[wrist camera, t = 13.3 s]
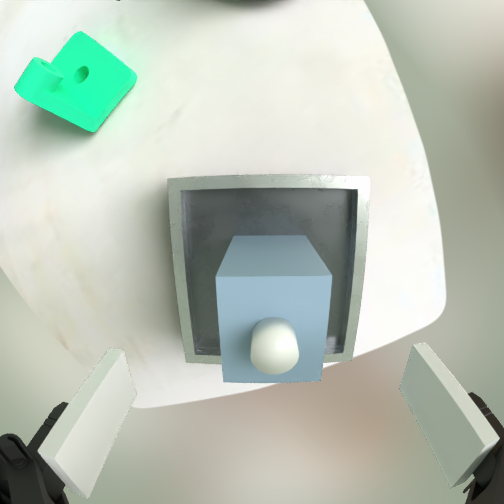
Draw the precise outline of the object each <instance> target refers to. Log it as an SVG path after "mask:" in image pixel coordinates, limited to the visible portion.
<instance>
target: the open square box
mask: <svg viewBox="0 0 504 504" xmlns="http://www.w3.org/2000/svg"><path fill="white" fill-rule="evenodd" d="M167 180H168V201H169V218H170V232H171V245H172V256H173V266H174V276H175V285H176V294H177V302H178V310H179V318H180V325H181V332H182V339H183V346H184V352H185V358H186V362H188V363H205V364H222V360H221V348H220V335H219V322H218V308H217V293H216V277H215V276H216V274H217V272H218V270H219V267H220V265H221V263H222V261H223V258H224V256H225V254H226V252H227V249H228V247H229V245H230V243H231V241H232V238H233V236H263V235H306V237H307V238H308V240H309V241H310V243H311V244H312V246H313V247H314V249H315V250H316V252H317V253H318V255H319V256H320V258H321V259H322V261H323V262H324V264H325V265H326V267H327V268H328V270H329V271H330V273H331V274H332V286H331V298H330V309H329V319H328V328H327V337H326V345H325V353H324V361H323V363H327V362H341V361H351V360H352V357H353V351H354V345H355V340H356V333H357V327H358V321H359V314H360V306H361V299H362V290H363V282H364V272H365V262H366V250H367V236H368V219H369V190H370V177H357V176H336V175H291V174H269V175H224V176H201V177H184V178H171V179H167Z"/></svg>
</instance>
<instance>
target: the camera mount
mask: <svg viewBox="0 0 504 504" xmlns="http://www.w3.org/2000/svg"><path fill="white" fill-rule="evenodd" d="M87 75H88V77H87ZM86 77H87V79H86ZM85 79H86V80H85ZM136 80H137V75H136V73H135V72H134V71H133V70H131V69H130V68H129V67H128V66H126V65H125V64H124V63H123V62H122V61H121V60H119V59H118V58H117V57H116V56H114V55H113V54H112V53H111V52H109V51H108V50H107V49H106V48H104V47H103V46H101V45H100V44H99V43H97V42H96V41H95V40H93V39H92V38H91V37H89V36H88V35H87V34H85V33H84V32H82V31H79V32H77V33H75V34H74V35H73V36H72V37H71V38H70V40H69V41H68V42H67V43H66V44H65V46H64V47H63V48H62V49H61V51H60V52H59V53H58V55H57V56H56V57H55V58H54V60H53V61H52V62H51V64H50V63H48V62H47V61H45V60H43V59H40V58H37V57H34V58H33V59H32V60H31V62H30V63H29V65H28V66H27V68H26V69H25V71H24V72H23V74H22V75H21V77H20V79H19V80H18V82H17V83H16V85H15V87H14V88H15V91H16V92H17V93H18V94H19V95H20V96H21V97H23V98H24V99H26V100H27V101H29V102H31V103H33V104H35V105H37V106H39V107H41V108H43V109H45V110H47V111H49V112H51V113H53V114H55V115H57V116H59V117H61V118H63V119H65V120H67V121H69V122H71V123H73V124H75V125H77V126H79V127H81V128H83V129H85V130H87V131H91V132H96V131H97V129H98V128H99V127H100V125H101V124H102V123H103V122H104V120H105V119H106V118H107V116H108V115H109V114H110V113H111V111H112V110H113V109H114V108H115V106H116V105H117V104H118V103H119V102H120V100H121V99H122V98H123V97H124V96H125V94H126V93H127V92H128V91H129V90H130V89H131V88H132V86H133V85H134V84H135V83H136Z"/></svg>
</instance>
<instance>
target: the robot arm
mask: <svg viewBox="0 0 504 504" xmlns="http://www.w3.org/2000/svg"><path fill="white" fill-rule="evenodd" d="M399 390H400V391H401V393H402V395H403V397H404V399H405V401H406V402H407V404H408V406H409V408H410V410H411V411H412V413H413V415H414V417H415V419H416V421H417V422H418V424H419V426H420V428H421V430H422V432H423V434H424V436H425V438H426V440H427V442H428V444H429V446H430V447H431V450H432V452H433V454H434V455H435V458H436V460H437V462H438V464H439V465H440V468H441V470H442V472H443V474H444V476H445V478H446V480H447V482H448V484H449V486H450V488H452V487H455V486H457V485H459V484H461V483H463V482H465V481H466V480H467V479H468V478H469V477H470V476H471V474H472V473H473V475H474V477H475V478H474V479H473V481H472V482H471V483H470V484H469V485H468V486H467V487H466V488H465V489H464V491H463V493H465V492H466V491H467V490H468V489H469V488H470V490H469V493H468V497H467V500H466V503H465V504H504V428H503V426H502V425H501V424H500V422H499V421H498V420H497V418H496V417H495V416H494V414H492V412H491V411H490V409H489V408H487V405H486V404H485V403H484V401H483V400H482V399H481V398H480V397H479V396H477V395H476V394H474V393H472V392H471V393H469V394H467V393H466V391H465V390H464V389H463V387H462V386H461V385H460V384H459V382H458V381H457V380H456V379H455V377H454V376H453V375H452V374H451V372H450V371H449V370H448V369H447V367H446V366H445V365H444V364H443V362H442V361H441V360H440V359H439V358H438V357H437V355H436V354H435V353H434V352H433V351H432V349H431V348H430V347H429V346H428V344H427V343H426V342H425V343H419V344H413V345H412V349H411V352H410V356H409V359H408V362H407V366H406V369H405V372H404V375H403V378H402V382H401V385H400V388H399ZM136 395H137V393H136V390H135V387H134V384H133V380H132V377H131V374H130V371H129V367H128V364H127V360H126V357H125V353H124V350H121V349H112V348H109V349H108V351H107V352H106V353H105V355H104V356H103V357H102V359H101V360H100V361H99V363H98V364H97V365H96V367H95V368H94V370H93V371H92V372H91V374H90V375H89V376H88V378H87V379H86V380H85V382H84V383H83V385H82V386H81V388H80V389H79V390H78V392H77V393H76V395H75V396H74V397H73V399H72V400H71V402H70V403H65V402H62V403H61V404H59V405H58V406H57V407H55V408H54V409H53V410H52V412H51V413H50V414H49V416H48V418H47V419H46V420H45V422H44V424H43V425H42V426H41V427H40V429H39V430H38V431H37V433H36V434H35V436H34V437H33V439H32V440H31V442H30V443H29V445H28V446H27V447H26V446H25V444H24V443H23V442H22V440H21V439H20V438H19V437H18V436H17V435H14V434H5V435H2V436H1V437H0V504H69V502H68V500H67V497H66V495H65V493H64V491H63V489H64V487H65V485H66V486H67V487H68V488H69V489H70V491H71V492H73V493H75V494H78V495H80V496H83V497H85V498H89V496H90V494H91V492H92V489H93V487H94V485H95V483H96V480H97V478H98V475H99V473H100V471H101V469H102V466H103V465H104V462H105V460H106V458H107V456H108V454H109V451H110V449H111V447H112V445H113V442H114V440H115V438H116V436H117V434H118V432H119V430H120V428H121V426H122V424H123V422H124V419H125V417H126V415H127V413H128V411H129V409H130V407H131V405H132V403H133V401H134V399H135V397H136Z"/></svg>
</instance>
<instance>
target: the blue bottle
mask: <svg viewBox="0 0 504 504" xmlns="http://www.w3.org/2000/svg"><path fill="white" fill-rule="evenodd" d="M215 277H216V293H217V308H218V322H219V335H220V348H221V360H222V371H223V382H233V383H287V382H309V381H310V382H311V381H321V375H322V368H323V361H324V353H325V345H326V337H327V328H328V319H329V309H330V298H331V286H332V274H331V273H330V271H329V270H328V268H327V267H326V265H325V264H324V262H323V261H322V259H321V258H320V256H319V255H318V253H317V252H316V250H315V249H314V247H313V246H312V244H311V243H310V241H309V240H308V238H307V237H306V235H263V236H233V238H232V241H231V243H230V245H229V247H228V249H227V252H226V254H225V256H224V258H223V261H222V263H221V265H220V267H219V270H218V272H217V274H216V276H215Z"/></svg>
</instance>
